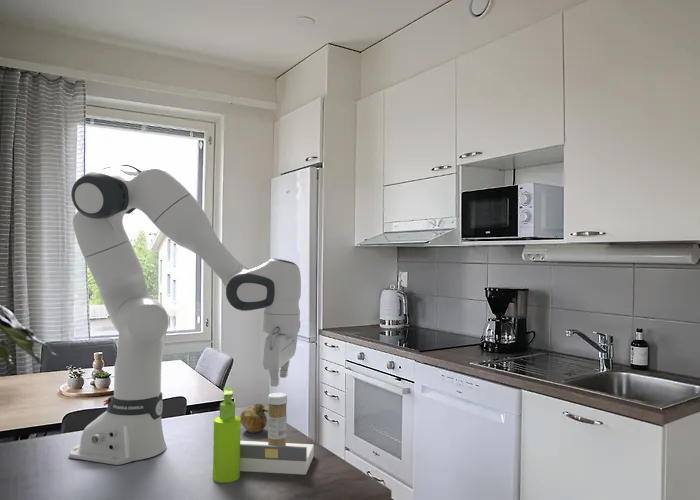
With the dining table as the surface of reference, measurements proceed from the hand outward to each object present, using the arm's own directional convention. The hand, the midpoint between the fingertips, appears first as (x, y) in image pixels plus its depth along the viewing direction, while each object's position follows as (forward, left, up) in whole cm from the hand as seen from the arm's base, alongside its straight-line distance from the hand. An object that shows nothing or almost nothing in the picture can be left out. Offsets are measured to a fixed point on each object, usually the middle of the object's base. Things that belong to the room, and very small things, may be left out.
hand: (279, 381), depth 129 cm
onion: (-12, +20, -20) cm, 30 cm away
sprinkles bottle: (0, -2, -16) cm, 16 cm away
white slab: (-2, -2, -19) cm, 19 cm away
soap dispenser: (-9, -12, -19) cm, 24 cm away
